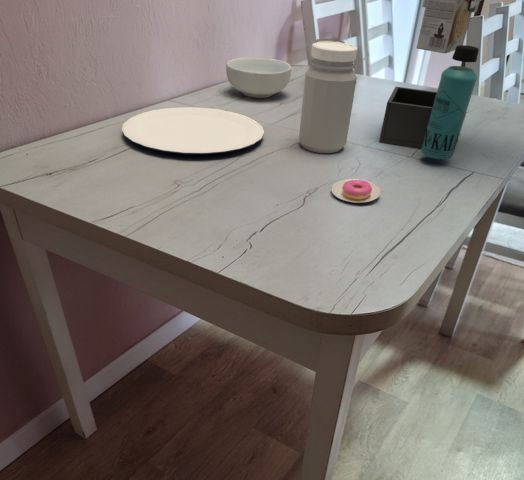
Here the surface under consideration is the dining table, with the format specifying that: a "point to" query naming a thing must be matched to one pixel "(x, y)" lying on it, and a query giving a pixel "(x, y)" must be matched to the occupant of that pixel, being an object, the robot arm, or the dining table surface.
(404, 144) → the basket
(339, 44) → the jar
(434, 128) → the teal pump bottle
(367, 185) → the donut
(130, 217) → the dining table surface
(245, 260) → the dining table surface
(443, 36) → the coffee box
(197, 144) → the plate
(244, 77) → the cereal bowl
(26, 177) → the dining table surface
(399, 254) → the dining table surface
